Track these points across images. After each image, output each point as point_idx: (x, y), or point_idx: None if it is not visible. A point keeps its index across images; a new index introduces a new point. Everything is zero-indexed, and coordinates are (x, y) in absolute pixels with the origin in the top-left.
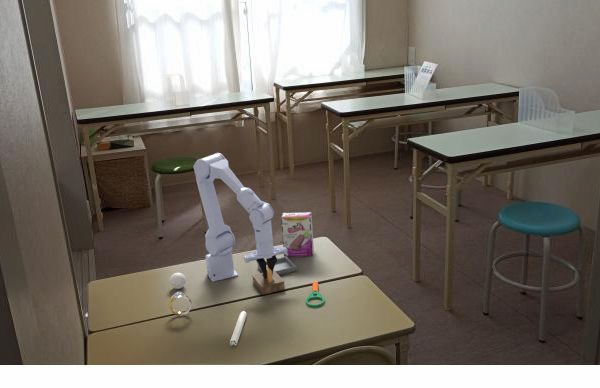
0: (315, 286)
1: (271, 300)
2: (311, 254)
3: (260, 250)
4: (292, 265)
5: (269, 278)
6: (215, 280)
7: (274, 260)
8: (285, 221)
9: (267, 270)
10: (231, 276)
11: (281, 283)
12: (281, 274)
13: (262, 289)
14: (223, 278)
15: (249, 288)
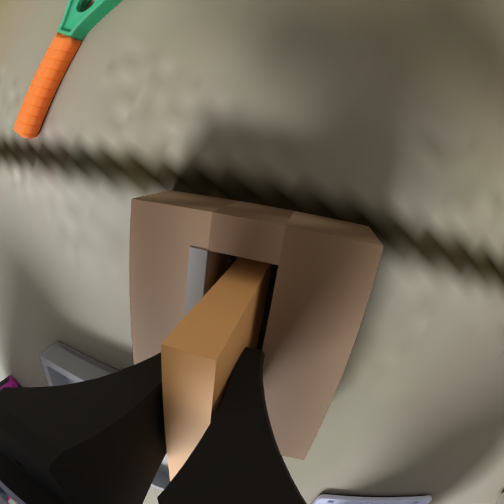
0: (37, 78)
1: (353, 89)
2: (7, 380)
3: None
4: (55, 378)
5: (241, 301)
6: (421, 498)
7: (8, 415)
8: None
9: (213, 387)
10: (352, 499)
11: (165, 201)
12: None
13: (371, 236)
14: (389, 499)
15: (373, 378)
